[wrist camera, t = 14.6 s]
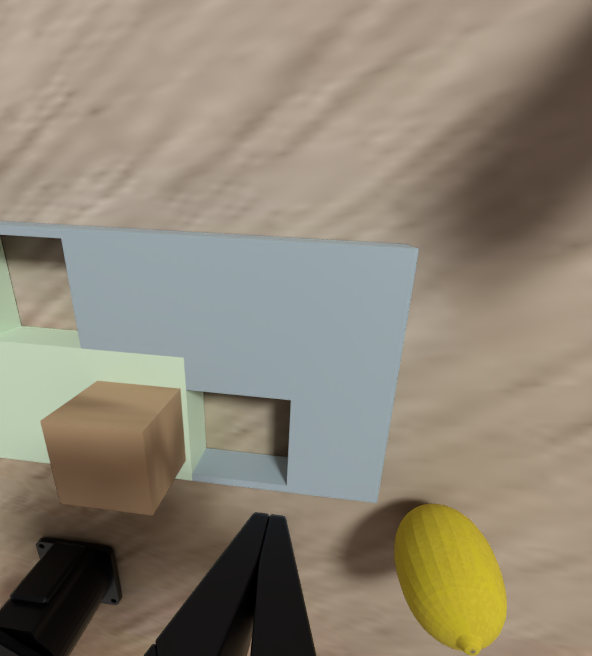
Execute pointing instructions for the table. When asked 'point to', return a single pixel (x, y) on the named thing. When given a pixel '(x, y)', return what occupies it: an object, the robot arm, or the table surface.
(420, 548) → the lemon
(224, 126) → the table surface
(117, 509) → the block
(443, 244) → the table surface
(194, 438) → the board
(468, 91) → the table surface
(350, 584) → the table surface
